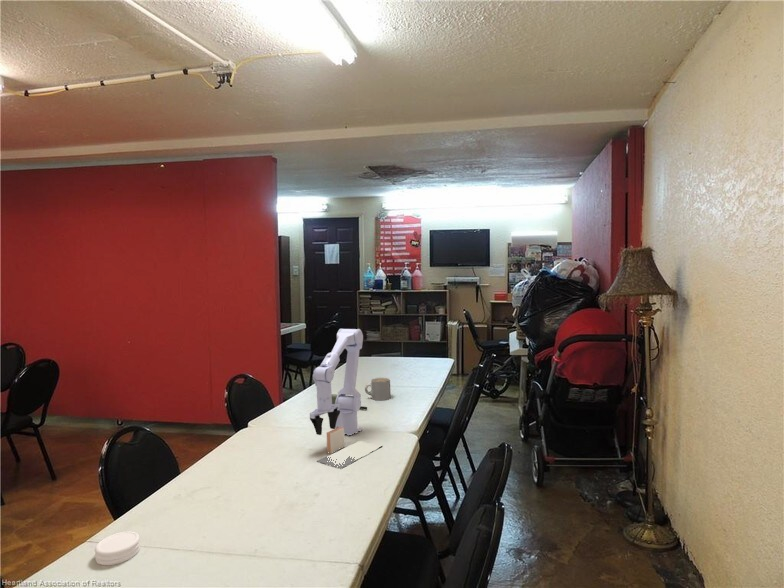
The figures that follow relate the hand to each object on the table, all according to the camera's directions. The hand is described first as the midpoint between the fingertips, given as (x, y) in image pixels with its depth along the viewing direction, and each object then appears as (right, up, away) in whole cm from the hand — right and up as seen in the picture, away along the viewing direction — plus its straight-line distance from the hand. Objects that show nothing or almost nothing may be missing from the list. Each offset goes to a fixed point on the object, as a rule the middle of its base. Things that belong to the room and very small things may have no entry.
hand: (325, 431), depth 189 cm
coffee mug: (+19, -2, +67) cm, 70 cm away
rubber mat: (+10, -7, -7) cm, 14 cm away
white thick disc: (-44, -13, -66) cm, 80 cm away
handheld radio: (+2, -4, +52) cm, 52 cm away
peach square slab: (+4, -7, -3) cm, 8 cm away
